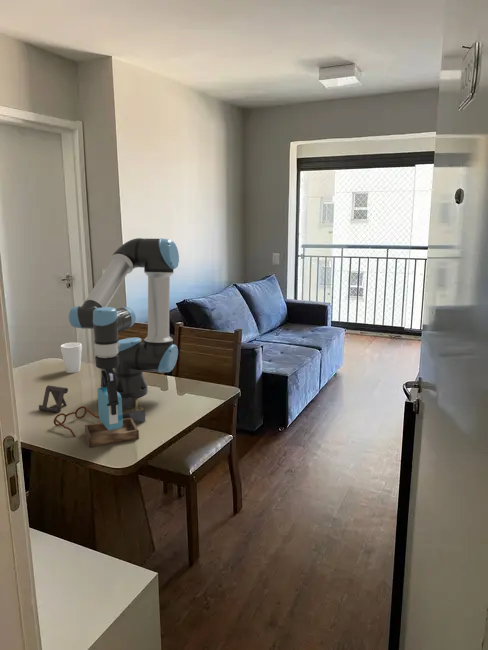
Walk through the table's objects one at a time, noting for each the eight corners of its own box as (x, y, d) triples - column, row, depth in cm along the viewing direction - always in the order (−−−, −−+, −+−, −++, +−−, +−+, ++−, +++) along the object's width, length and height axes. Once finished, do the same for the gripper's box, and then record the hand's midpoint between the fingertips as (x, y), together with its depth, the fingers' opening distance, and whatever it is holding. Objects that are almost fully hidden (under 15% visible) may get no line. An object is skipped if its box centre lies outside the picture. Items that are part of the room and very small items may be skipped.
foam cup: (58, 373, 230) (56, 347, 227) (68, 367, 238) (67, 342, 236) (77, 374, 228) (75, 348, 225) (86, 368, 237) (85, 343, 234)
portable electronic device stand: (38, 410, 186) (36, 390, 184) (52, 403, 193) (51, 383, 191) (57, 413, 183) (55, 392, 181) (71, 406, 190) (69, 386, 188)
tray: (131, 425, 173) (131, 417, 172) (139, 438, 163) (138, 430, 162) (85, 433, 167) (84, 425, 166) (89, 447, 156) (88, 439, 156)
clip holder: (135, 405, 191) (135, 396, 190) (145, 421, 177) (145, 411, 176) (113, 409, 188) (113, 399, 187) (121, 425, 173) (121, 414, 172)
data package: (123, 429, 160) (121, 395, 157) (109, 432, 158) (107, 397, 155) (111, 417, 170) (110, 384, 167) (98, 419, 167) (97, 386, 165)
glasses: (85, 416, 182) (85, 404, 181) (107, 426, 174) (106, 413, 173) (53, 428, 172) (52, 414, 171) (74, 438, 164) (73, 424, 163)
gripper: (126, 363, 149) (128, 428, 154) (112, 344, 171) (115, 401, 175) (101, 366, 146) (104, 432, 151) (90, 346, 168) (93, 404, 172)
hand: (110, 415), depth 163 cm, fingers closed on data package, 12 cm apart
